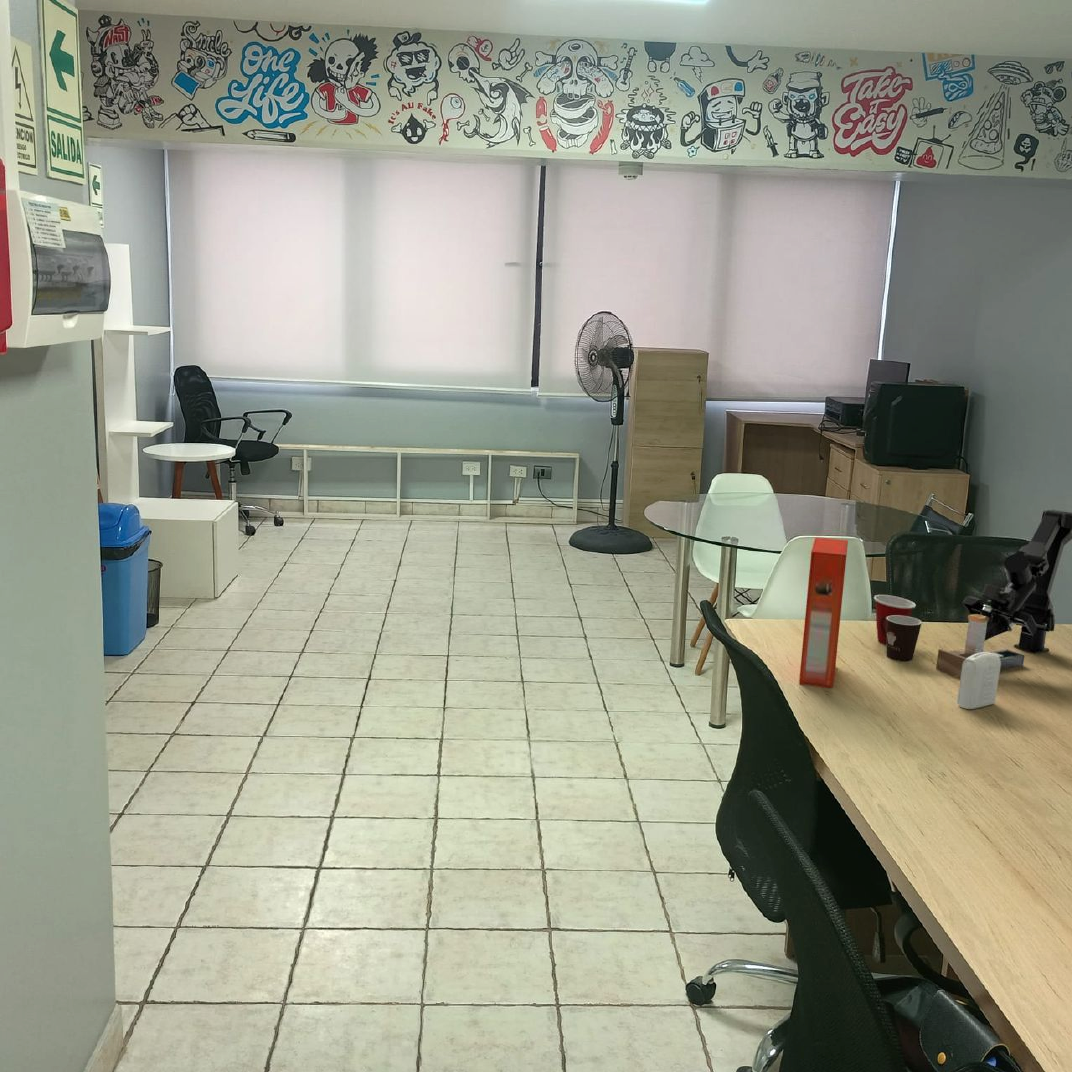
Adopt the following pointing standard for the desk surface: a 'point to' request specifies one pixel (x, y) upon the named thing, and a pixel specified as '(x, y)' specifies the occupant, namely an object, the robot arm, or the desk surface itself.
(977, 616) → the grey orange-topped post
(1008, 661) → the sleeve
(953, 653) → the socket
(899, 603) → the plastic cup
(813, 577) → the file binder
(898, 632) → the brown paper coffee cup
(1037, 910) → the desk surface
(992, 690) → the photo printer
